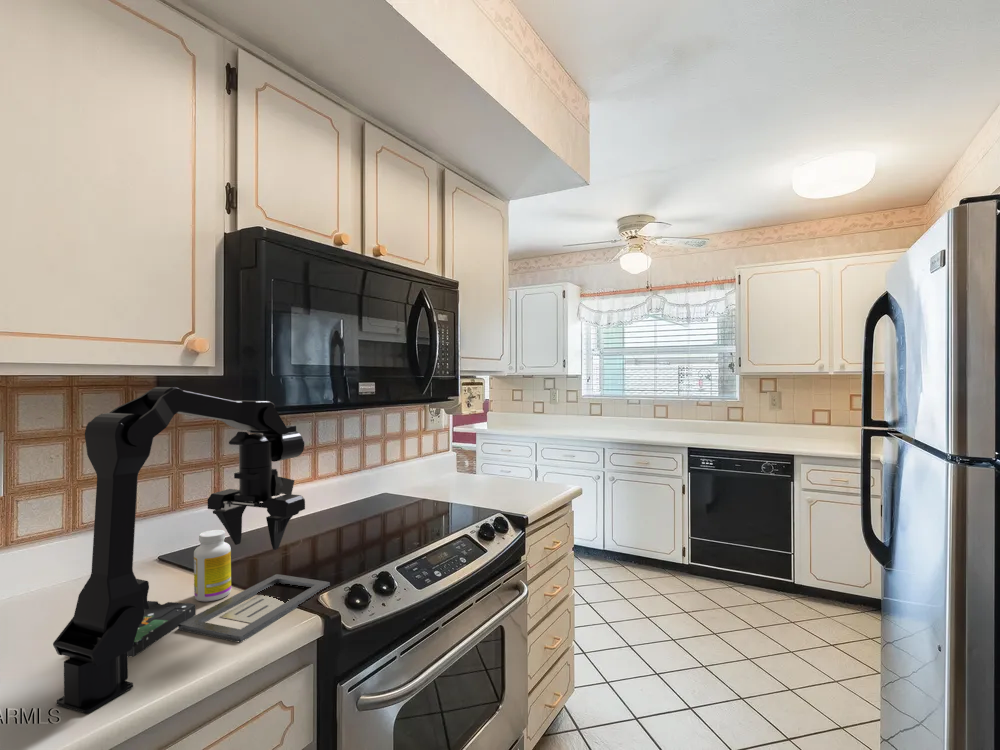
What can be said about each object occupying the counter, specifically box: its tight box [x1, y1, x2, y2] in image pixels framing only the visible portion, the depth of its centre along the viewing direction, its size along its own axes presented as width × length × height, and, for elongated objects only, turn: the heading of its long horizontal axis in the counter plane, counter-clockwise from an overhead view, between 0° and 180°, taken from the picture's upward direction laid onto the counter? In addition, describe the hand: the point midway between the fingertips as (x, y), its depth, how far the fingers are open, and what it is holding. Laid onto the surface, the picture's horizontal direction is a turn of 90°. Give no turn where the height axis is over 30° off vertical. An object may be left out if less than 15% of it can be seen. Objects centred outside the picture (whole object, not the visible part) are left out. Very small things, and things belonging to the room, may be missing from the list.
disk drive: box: [128, 600, 197, 658], centre depth 93 cm, size 10×3×15 cm
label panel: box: [177, 573, 331, 643], centre depth 103 cm, size 24×14×1 cm, turn 161°
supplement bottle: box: [193, 529, 232, 602], centre depth 107 cm, size 7×7×13 cm
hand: (256, 546), depth 101 cm, fingers open, 9 cm apart
